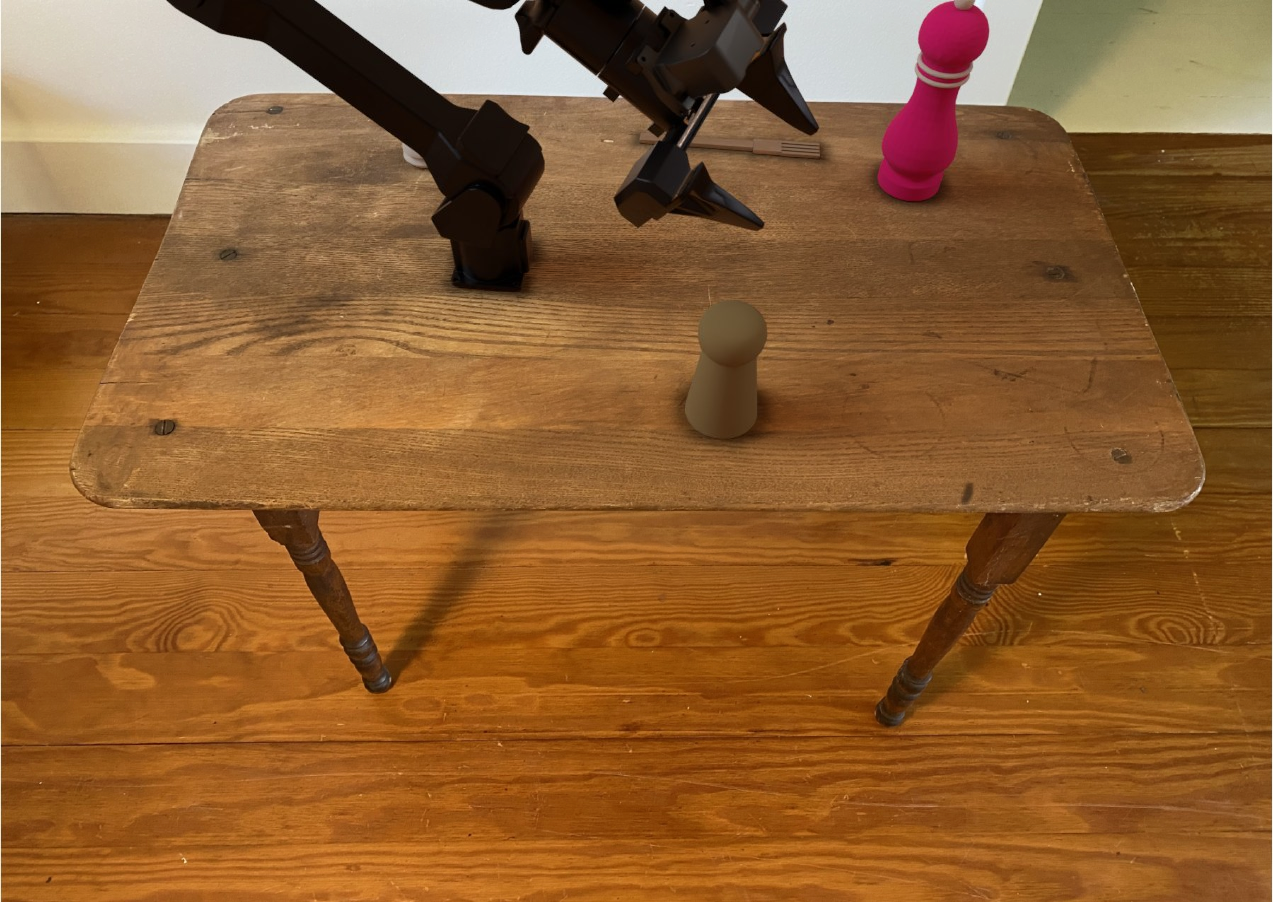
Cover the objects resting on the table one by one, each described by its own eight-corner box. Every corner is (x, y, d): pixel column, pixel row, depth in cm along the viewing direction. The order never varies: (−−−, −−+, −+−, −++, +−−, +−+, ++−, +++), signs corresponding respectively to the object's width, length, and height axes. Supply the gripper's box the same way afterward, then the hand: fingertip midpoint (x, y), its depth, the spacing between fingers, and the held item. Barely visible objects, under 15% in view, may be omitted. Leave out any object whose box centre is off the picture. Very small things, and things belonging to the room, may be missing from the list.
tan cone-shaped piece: (752, 444, 74) (771, 353, 65) (678, 432, 75) (687, 339, 66) (761, 388, 78) (780, 294, 69) (691, 376, 78) (700, 281, 69)
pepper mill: (953, 176, 95) (1022, -17, 79) (927, 214, 91) (994, 20, 75) (889, 152, 97) (943, -41, 81) (861, 188, 94) (911, -6, 77)
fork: (639, 146, 97) (639, 142, 97) (641, 133, 98) (641, 129, 98) (819, 159, 96) (820, 155, 96) (818, 146, 98) (819, 142, 97)
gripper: (593, 95, 54) (790, 252, 59) (735, -125, 59) (909, 36, 63) (541, 160, 65) (713, 289, 69) (666, -31, 69) (819, 101, 73)
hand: (788, 179), depth 68 cm, fingers open, 9 cm apart
